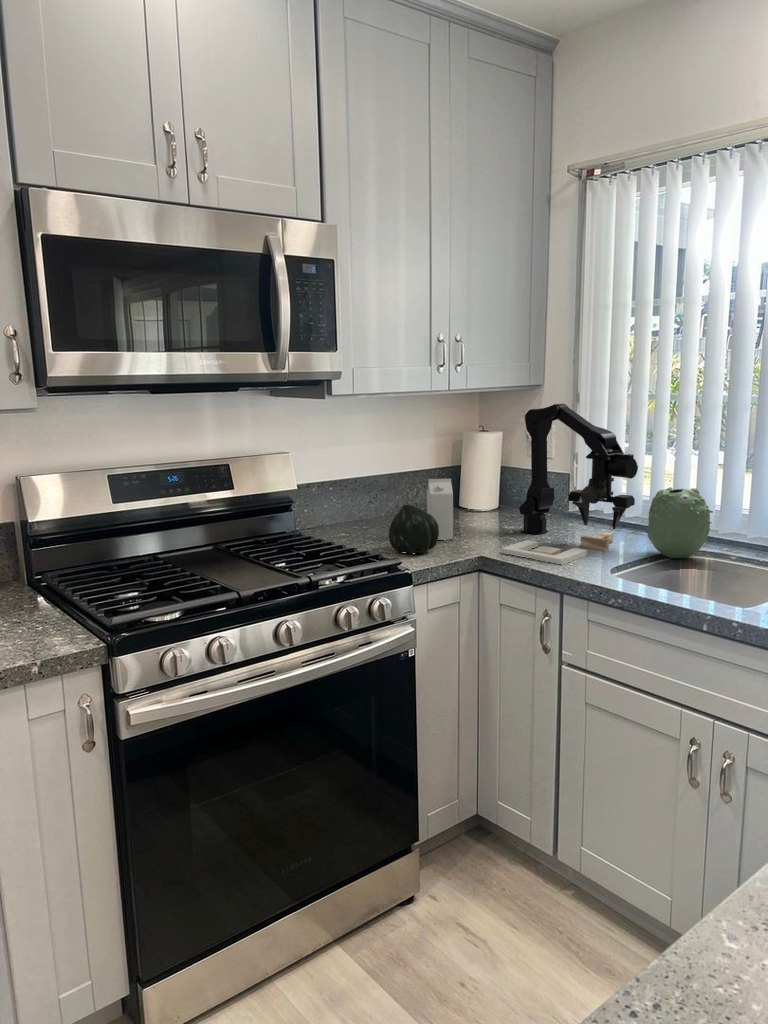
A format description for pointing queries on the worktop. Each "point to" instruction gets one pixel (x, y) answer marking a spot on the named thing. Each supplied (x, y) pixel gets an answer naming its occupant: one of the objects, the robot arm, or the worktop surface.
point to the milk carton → (441, 505)
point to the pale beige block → (547, 550)
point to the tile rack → (558, 558)
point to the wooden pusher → (597, 541)
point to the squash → (413, 530)
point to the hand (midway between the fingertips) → (599, 527)
